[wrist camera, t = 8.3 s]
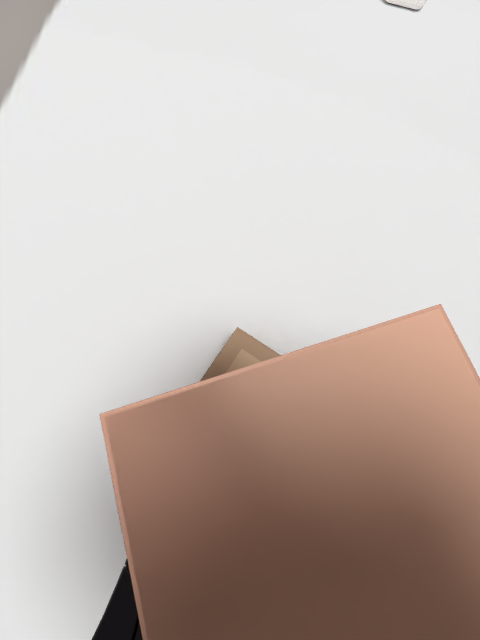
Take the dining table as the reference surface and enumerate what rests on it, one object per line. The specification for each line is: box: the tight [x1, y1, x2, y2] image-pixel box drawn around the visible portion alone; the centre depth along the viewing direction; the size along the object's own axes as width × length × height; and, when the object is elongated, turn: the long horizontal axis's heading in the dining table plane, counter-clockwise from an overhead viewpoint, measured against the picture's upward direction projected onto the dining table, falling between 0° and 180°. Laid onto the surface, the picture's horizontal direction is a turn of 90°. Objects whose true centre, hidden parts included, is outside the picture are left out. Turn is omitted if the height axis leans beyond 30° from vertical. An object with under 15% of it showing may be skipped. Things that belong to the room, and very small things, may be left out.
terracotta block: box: [100, 304, 480, 640], centre depth 9 cm, size 5×5×12 cm
